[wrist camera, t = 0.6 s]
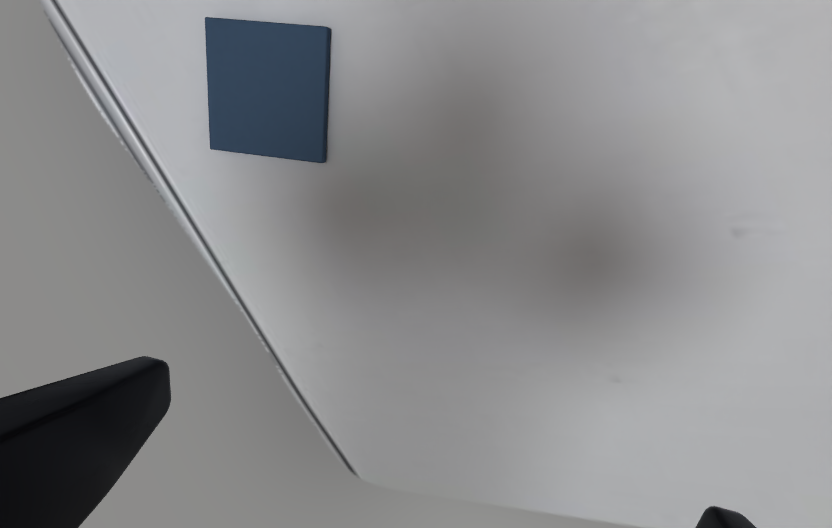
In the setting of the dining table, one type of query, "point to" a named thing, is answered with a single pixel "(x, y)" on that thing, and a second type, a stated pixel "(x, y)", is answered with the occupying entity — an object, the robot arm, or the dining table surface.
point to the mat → (268, 88)
